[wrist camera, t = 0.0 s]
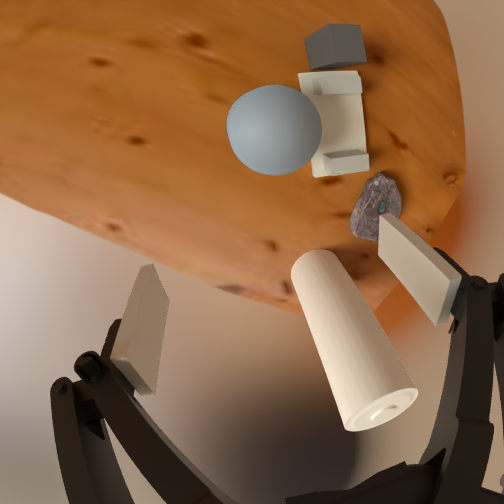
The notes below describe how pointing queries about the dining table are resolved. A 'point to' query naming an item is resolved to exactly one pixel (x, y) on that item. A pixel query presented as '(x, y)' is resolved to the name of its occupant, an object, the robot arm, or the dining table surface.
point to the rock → (375, 206)
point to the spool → (274, 129)
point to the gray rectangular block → (335, 47)
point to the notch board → (337, 121)
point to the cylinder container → (351, 344)
